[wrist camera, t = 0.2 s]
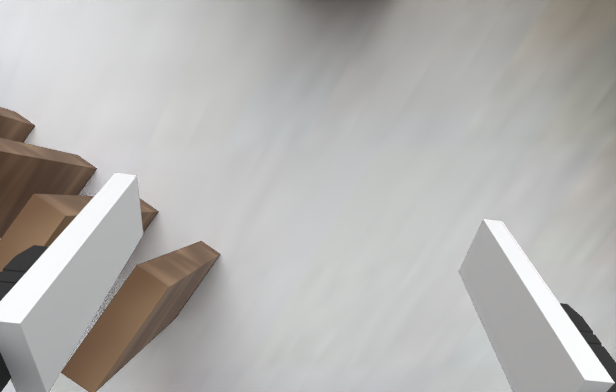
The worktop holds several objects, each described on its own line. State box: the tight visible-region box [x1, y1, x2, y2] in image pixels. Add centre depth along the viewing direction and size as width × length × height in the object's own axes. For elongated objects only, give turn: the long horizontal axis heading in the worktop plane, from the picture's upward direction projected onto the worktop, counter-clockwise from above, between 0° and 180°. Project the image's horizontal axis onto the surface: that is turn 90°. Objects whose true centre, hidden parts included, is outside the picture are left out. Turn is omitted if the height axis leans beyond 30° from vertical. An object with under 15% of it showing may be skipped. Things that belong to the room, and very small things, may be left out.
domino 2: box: [0, 194, 159, 272], centre depth 24 cm, size 2×6×12 cm, turn 145°
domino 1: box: [0, 138, 97, 238], centre depth 24 cm, size 2×6×12 cm, turn 145°
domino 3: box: [61, 241, 220, 392], centre depth 24 cm, size 2×6×12 cm, turn 145°
